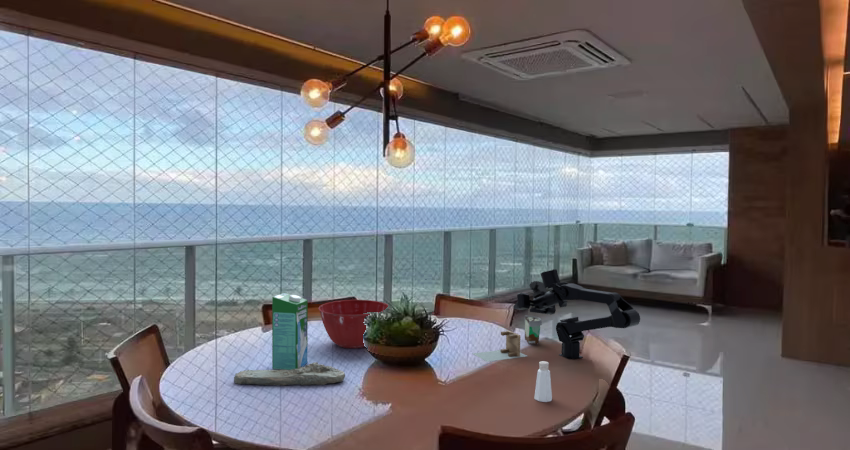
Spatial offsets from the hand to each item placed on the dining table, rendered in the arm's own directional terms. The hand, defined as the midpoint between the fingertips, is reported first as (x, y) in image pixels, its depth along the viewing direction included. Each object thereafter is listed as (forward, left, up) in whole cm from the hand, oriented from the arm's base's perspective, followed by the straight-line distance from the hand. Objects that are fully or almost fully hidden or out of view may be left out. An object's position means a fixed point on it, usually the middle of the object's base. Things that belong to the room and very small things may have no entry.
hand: (522, 309), depth 220 cm
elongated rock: (-11, +96, -15) cm, 98 cm away
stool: (-13, +14, -14) cm, 24 cm away
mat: (-12, +18, -14) cm, 26 cm away
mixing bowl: (+24, +64, -14) cm, 70 cm away
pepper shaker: (-55, +30, -14) cm, 64 cm away
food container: (-1, -6, -14) cm, 15 cm away
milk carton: (+5, +93, -14) cm, 95 cm away
